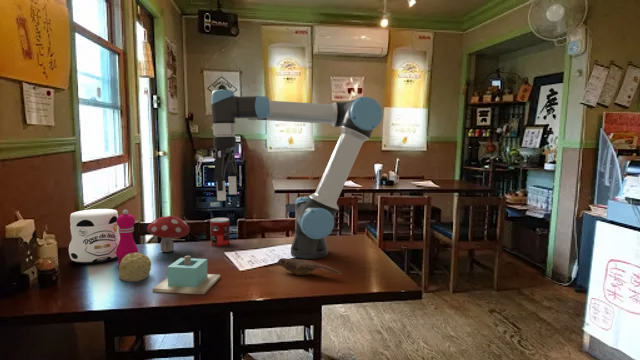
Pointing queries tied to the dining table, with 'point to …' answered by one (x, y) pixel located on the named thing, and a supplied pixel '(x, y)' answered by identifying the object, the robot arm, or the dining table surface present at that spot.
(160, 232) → the decorative mushroom
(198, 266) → the teal hollow square block
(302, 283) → the dining table surface
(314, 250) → the robot arm
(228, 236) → the canned food
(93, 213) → the dulce de leche jar
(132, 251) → the pepper mill
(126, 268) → the rock
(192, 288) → the rod stand
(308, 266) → the bird sculpture
